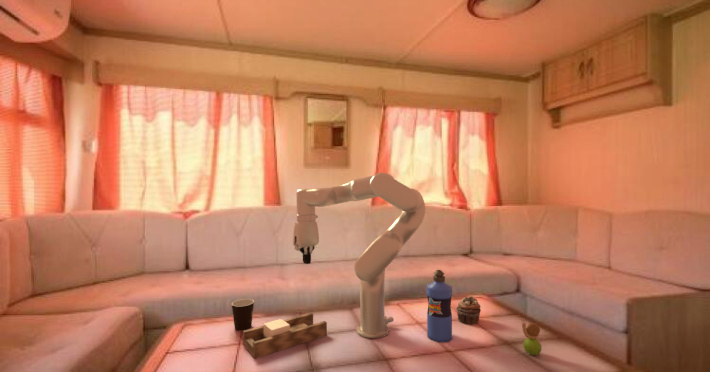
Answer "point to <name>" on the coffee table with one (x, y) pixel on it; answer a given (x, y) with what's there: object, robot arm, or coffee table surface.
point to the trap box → (283, 336)
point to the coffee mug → (242, 314)
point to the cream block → (276, 328)
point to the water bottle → (439, 309)
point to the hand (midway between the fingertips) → (306, 263)
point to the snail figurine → (531, 338)
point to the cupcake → (468, 311)
